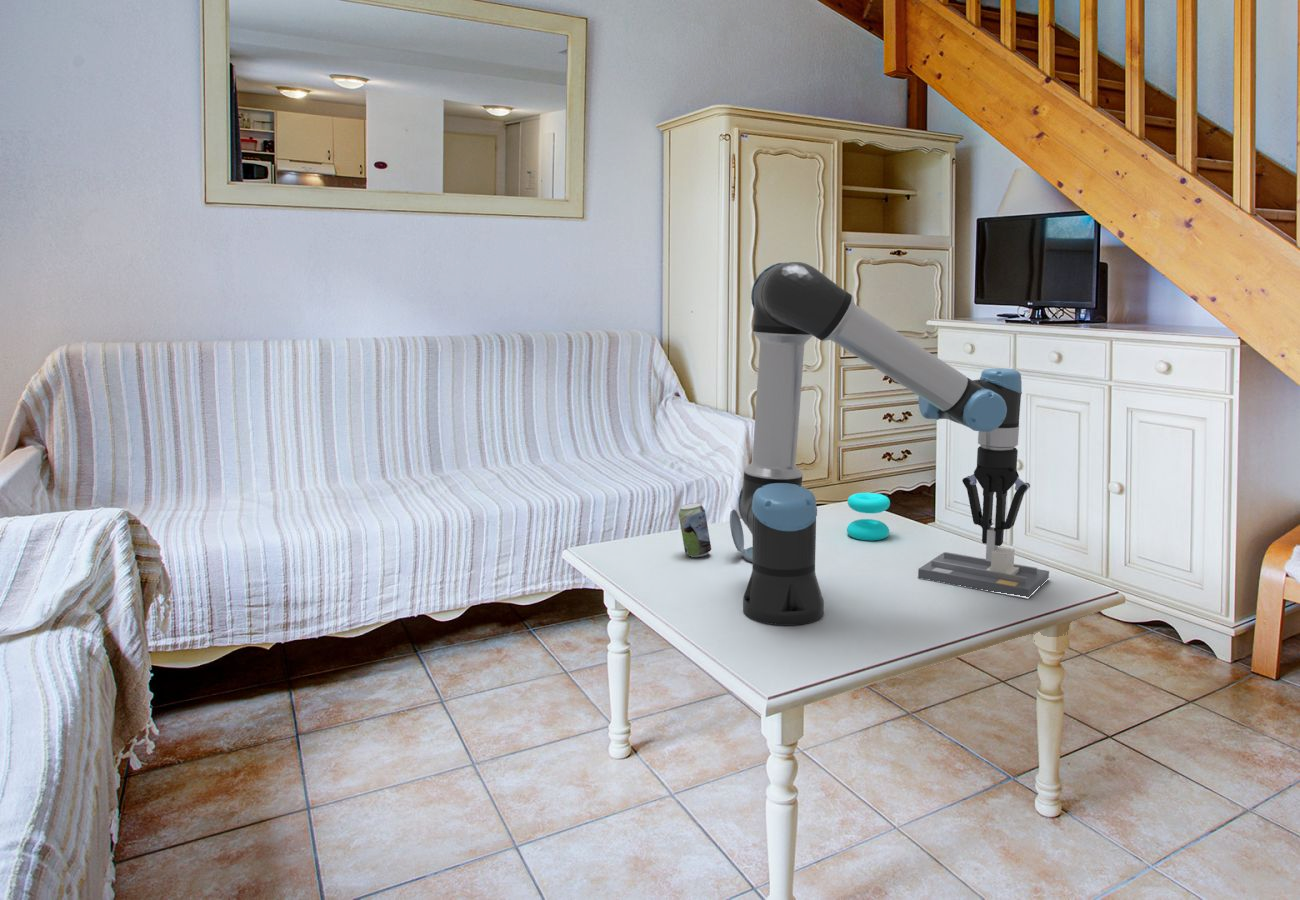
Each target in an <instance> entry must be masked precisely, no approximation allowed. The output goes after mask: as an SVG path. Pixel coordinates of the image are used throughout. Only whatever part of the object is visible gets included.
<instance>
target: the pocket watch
mask: <svg viewBox="0 0 1300 900" xmlns="http://www.w3.org/2000/svg"><path fill="white" fill-rule="evenodd" d="M740 518H741V517H740V516H739V514H738V512H737V510H735V509H731V510H730V513H729V526H730V532H731V537H732V542H733V544H734V547H735V548H736V550H737V552H740V553H741V555H742V556H743V558H744V560H746V561H748V562H749V563H752V564H753V560H752V553H753V546H749V547H747V548H744V547H745V538H744V537H745V535H744V529H743V524H742V521H741V519H740Z"/></svg>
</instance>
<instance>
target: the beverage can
mask: <svg viewBox="0 0 1300 900" xmlns="http://www.w3.org/2000/svg"><path fill="white" fill-rule="evenodd" d="M702 505H703V504H702V503H700V502H693V503H687V504H683V505H681V506H680V507H679V511H678V519H679V524H680V530H681V537H682V541H683V547H684V553H685V555H687V556H689V557H690V556H691V558H700V557H704V556H707V555H708V554H709V553H710V552H711V551H712V545H711V540H710V533H709V527H708V520H707V514H706V509H705V507H704V506H702Z"/></svg>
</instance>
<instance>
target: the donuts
mask: <svg viewBox="0 0 1300 900" xmlns="http://www.w3.org/2000/svg"><path fill="white" fill-rule="evenodd" d="M847 505H848V507H849V508H850V509H851V510H853V511H855V512H858V513H862V514H879V513H882V512H886V511H887V510H888V509H889V507H890V506H891V501H890V498H889V497H888V496H886V495H884V494H881V493H877V492H857V493H854V494H851V495H850V496H848V498H847ZM846 532H847V534H848V536H850V538H851V537H852V538H853V539H856V540H859V541H867V542H869V541H870V542H871V541H873V542H875V541H879V540H880V541H881V540H883V539H885V538H887V537H888V536H889V534H890V529H889V526H888V525H887V524H886V523H884V522H883V521H880V520H876V519H872V518H871V519H870V518H869V519H868V518H861V519H855V520H853V521H851V522H850V523H848V525H847V527H846Z"/></svg>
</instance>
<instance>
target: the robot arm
mask: <svg viewBox="0 0 1300 900" xmlns="http://www.w3.org/2000/svg"><path fill="white" fill-rule="evenodd" d="M750 299H751V305H752V308H753V320H752V321H753V325H752V326H753V327H752V333H753V334H754V336H755V337H756V338H757V339H758V341H759V350H758V351H759V352H758V371H757V380H756V383H757V384H756V398H755V399H756V400H755V413H754V414H755V417H754V431H753V432H754V433H753V445H752V447H753V448H752V459H751V462H750V463H749V464H748V465H747V466H746V467H745V468H744V469H743V481H742V487H741V489H740V491H739V495H738V499H737V500H738V501H737V505H738V512H739V515H740V518H741V520H742V522H743V523H744V525H745V526H746V527H747V528H748V531H749V532H750V533H751V535H752V536H751V537H752V547H753V553H752V560H753V563H752V565H751V569H752V571H751V574H750V577H749V579H748V583H747V586H746V588H745V592H744V594H743V597H742V611H743V612H742V613H744V614H745V616H746V617H748V618H750V619H752V620H754V621H757V622H760V623H764V624H769V625H775V626H798V625H805V624H809V623H813V622H816V621H818V620H819V619H821V618H822V617H823V616H824V613H825V601H824V597H823V594H822V591H821V587H820V584H819V581H818V578H817V575H816V548H817V547H816V546H817V545H816V544H817V543H816V541H817V537H816V535H817V516H818V507H817V499H816V497H815V494H814V493H813V491H811V490H810V489H809V488H807V487H804V486H803V476H804V475H803V472H802V471H801V470H800V469H799V468H798V466H797V464H796V463H797V448H798V439H799V438H798V436H799V435H798V434H799V423H800V422H799V421H800V410H801V409H800V408H801V395H802V385H803V384H802V383H803V382H802V381H803V367H804V356H805V345H806V343H807V342H808V341H809V340H810V339H811V338H812V337H815V338H816V339H818V340H819V341H821V342H826V341H831V342H833V343H834V344H836V345H838V346H839V347H841V348H843V350H846V351H847V352H849V353H850V354H852V355H854V356H855V357H857V358H858V359H860V360H861V361H862V362H865V363H866V364H868V365H869V366H871V367H872V368H873V369H876V370H877V371H879V372H880V373H882V374H884V375H885V376H887V377H889V378H890V379H891V380H893V381H894V382H896V383H898V384H900V385H901V386H902V387H904V388H906V389H907V390H909V391H910V392H912V393H914V394H915V395H916V396H918V408H919V412H920V414H921V416H922V417H923V418H925V419H928V420H932V419H933V420H936V421H938V420H949V421H951V422H954V423H957V424H960V425H962V426H964V427H967V428H969V429H971V430H972V431H975V432H977V433H978V435H977V444H978V445H979V446H978V448H977V452H976V453H977V455H976V458H977V459H976V467H975V469H974V471H973V474H971V475H967V476H965V477H963V478H962V484H963V485H964V487H965V489H966V491H967V497H968V503H969V506H970V511H971V518H972V522H973V524H974V525H977V526H979V527H981V529H982V533H981V535H982V536H981V541H982V544H986V547H985V559H986V561H990V562H991V554H992V551H994V550H995V549H997V548H998V547H999V546H1002V545H1003V543H1004V533H1005V530H1010V529H1011V528H1012V527H1014V525H1015V522H1016V520H1017V517H1018V513H1019V511H1020V508H1021V504H1022V502H1023V498H1024V495H1025V493H1027V491H1028V490H1029V489H1030V487H1031V484H1030V483H1029V482H1024V480H1022V479H1021V478H1020V477H1019V472H1018V471H1017V469H1018V468H1017V467H1018V451H1019V450H1018V449H1017V446H1018V445H1019V436H1020V434H1019V433H1020V415H1021V414H1020V413H1021V401H1022V400H1021V399H1022V394H1023V392H1022V374H1021V372H1019V370H1018V369H1017V370H1016V369H1012V368H986V369H983V370H982V371H981V374H980V377H979V379H974V380H973V379H971V378H969V377H967V375H966V374H965V375H964V374H963V373H962V372H960V371H959V370H957V369H956V368H954V367H953V366H951V365H950V364H948V363H946V362H945V361H943V360H942V359H940V358H938V357H937V356H936V355H934V354H932V353H931V352H930V351H928V350H926V349H924V348H923V347H922V346H920V345H918V344H917V343H915V342H914V341H912V340H911V339H910V338H908V337H907V336H905V335H903V334H901V333H900V332H898V331H897V330H896V329H894V328H892V327H891V326H889V325H887V324H886V323H885V322H883V321H881V320H880V319H879V318H877V317H876V316H873V315H872V314H871V313H869V312H868V311H866V310H865V309H863V308H861V307H860V306H858V305H857V304H855V301H854V296H853V295H852V294H851V293H849V292H848V291H847V290H845V289H843V288H842V287H840V285H838V284H837V283H835V282H834V281H833V280H831V279H830V277H829V278H828V277H827V276H826V275H825V274H823V273H822V272H821V271H820V270H818V269H817V268H816V267H814V266H812V265H810V264H808V263H806V262H800V261H791V262H790V261H789V262H787V261H786V262H778V263H777V262H776V263H775V264H772V265H769V266H768V267H766V268H765V269H763V271H761V273H759V274H758V276H757V277H756V278H755V281H754V283H753V285H752V288H751V294H750ZM978 483H979V485H980V487H981V488H982V496H983V500H982V501H983V502H982V508H981V501H980V497H979V493H978V487H977V484H978ZM1014 485H1015V486H1014ZM1013 486H1014V490H1015V493H1014V494H1013V497H1012V501H1011V504H1010V507H1009V509H1008V513H1007V516H1006V509H1007V496H1008V491H1009V490H1010V489H1011V488H1012V487H1013ZM994 494H995V499H996V501H995V504H996V505H995V516H994V517H995V519H994V522H995V523H993V510H994V508H993V507H994ZM993 525H994V527H993Z"/></svg>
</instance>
